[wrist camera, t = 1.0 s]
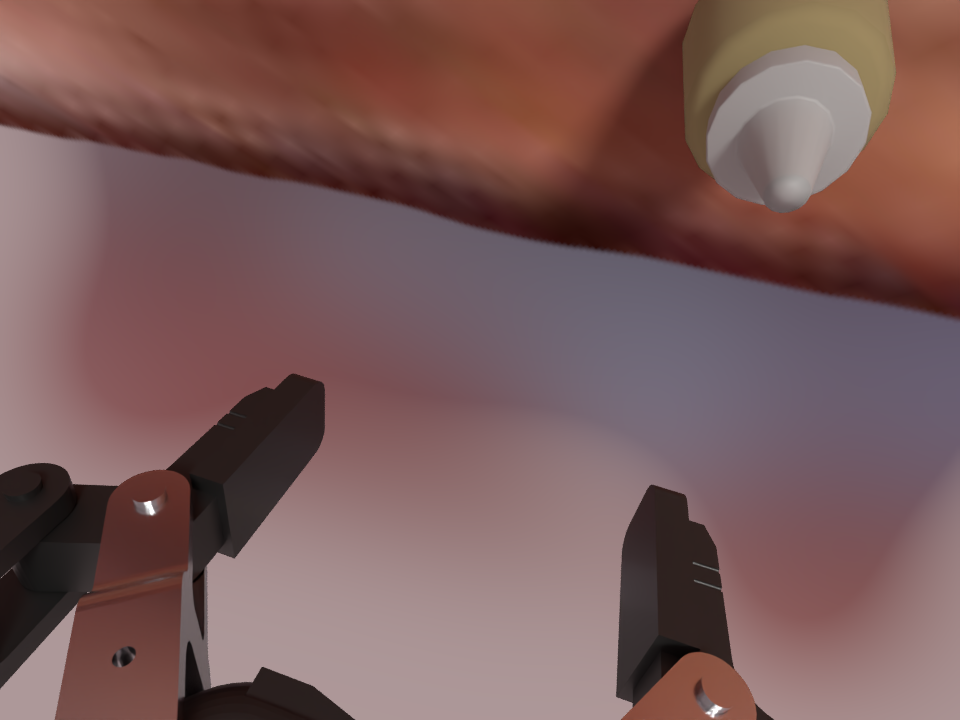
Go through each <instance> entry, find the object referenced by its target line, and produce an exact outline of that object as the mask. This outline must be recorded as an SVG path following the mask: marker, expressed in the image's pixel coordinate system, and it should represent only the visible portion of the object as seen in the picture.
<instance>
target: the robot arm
mask: <svg viewBox="0 0 960 720" xmlns="http://www.w3.org/2000/svg"><path fill="white" fill-rule="evenodd" d="M324 429H325V389H324V384H323V383H322V382H320V381H316V380H313V379H310V378H307V377H303V376H300V375H297V374H291V375H289V376H288V377H287V378H286V379H284V381H282V382H281V384H279V385H278V386H277V387H276V388H275V389H274V390H273V389H270V388H267V387H265V388H263V389H261V390H259V391H256V392H254V393H252V394H250V395H248V396H246V397H244V398H243V399H242V400H241V401H240V402H239V403H238V404H237V405H236V406H234V408H232V409H231V410H230V413H229V414H226V415H225V416H224V417H223V418H222V419H221V420H219V421H218V423H217V425H214V426H213V427H212V428H211V429H210V430H209V431H208V432H207V433H205V434H204V435H203V436H202V437H201V438H200V439H199V440H198V441H197V442H196V443H195V444H194V445H193V446H191V447H190V448H189V449H188V450H187V451H186V452H185V453H184V454H183V455H182V456H181V457H180V458H179V459H177V460H176V461H175V462H174V463H173V464H172V465H171V466H170V467H169V468H167V469H166V470H153V471H148V472H144V473H141V474H138V475H136V476H133V477H131V478H129V479H128V480H126V481H124V482H123V483H122V484H120V485H119V486H103V485H78V484H76V485H75V484H72V481H71V479H70V476H69V474H68V472H67V471H66V470H65V469H64V468H62V467H60V466H58V465H55V464H49V463H37V464H36V463H35V464H29V465H25V466H21V467H17V468H14V469H12V470H9V471H7V472H5V473H3V474H1V475H0V578H1V577H2V576H3V575H4V574H5V573H6V572H7V573H6V574H5V575H4V576H3V577H2V578H1V579H0V688H1V687H2V686H3V685H4V684H5V683H6V682H7V681H8V679H9V678H10V677H11V676H12V675H13V674H14V673H15V672H16V671H17V670H18V668H19V667H20V666H21V665H22V664H23V663H24V662H25V661H26V660H27V658H28V657H29V656H30V655H31V654H32V653H33V652H34V651H35V650H36V648H37V647H38V646H39V645H40V644H41V643H42V642H43V641H44V640H45V639H46V637H47V636H48V635H49V634H50V633H51V632H52V631H53V630H54V629H55V627H56V626H57V625H58V624H59V623H60V622H61V621H62V620H63V619H64V617H65V616H66V615H67V614H68V613H69V612H70V611H71V610H72V609H73V608H74V606H75V605H76V604H77V603H78V604H77V608H76V612H75V617H74V622H73V627H72V633H71V638H70V643H69V649H68V653H67V659H66V664H65V670H64V674H63V680H62V685H61V690H60V695H59V701H58V706H57V711H56V716H55V720H355V719H353V718H352V717H351V716H350V715H348V714H347V713H346V712H345V711H343V710H342V709H341V708H340V707H338V706H337V705H336V704H335V703H333V702H332V701H331V700H330V699H328V698H327V697H326V696H325V695H323V694H322V693H321V692H320V691H318V690H317V689H316V688H315V687H313V686H311V685H309V684H306V683H304V682H301V681H298V680H296V679H293V678H290V677H288V676H285V675H283V674H280V673H277V672H275V671H272V670H270V669H267V668H264V667H262V668H261V669H260V671H259V673H258V675H257V676H256V678H255V680H254V681H253V682H242V683H230V684H226V685H220V686H216V687H213V688H211V679H210V668H209V660H208V616H207V615H208V612H207V611H208V609H207V608H208V605H207V564H208V563H209V562H210V560H211V559H212V558H213V557H214V556H215V555H216V553H217V552H218V553H221V554H224V555H227V556H229V557H232V558H235V557H236V556H237V554H238V553H239V552H240V551H241V549H242V548H243V547H244V546H245V544H246V543H247V542H248V540H249V539H250V538H251V536H252V535H253V534H254V533H255V531H256V530H257V529H258V527H259V526H260V525H261V523H262V522H263V521H264V520H265V518H266V517H267V516H268V514H269V513H270V512H271V510H272V509H273V508H274V506H275V505H276V504H277V502H278V501H279V500H280V499H281V497H282V496H283V495H284V494H285V492H286V491H287V490H288V488H289V487H290V485H291V484H292V483H293V482H294V481H295V479H296V478H297V477H298V475H299V474H300V473H301V471H302V470H303V469H304V468H305V466H306V465H307V464H308V462H309V461H310V460H311V458H312V457H313V456H314V454H315V453H316V452H317V450H318V448H319V446H320V444H321V441H322V439H323V435H324ZM687 506H688V505H687V498H686V496H685V495H684V494H681V493H678V492H675V491H671V490H668V489H665V488H662V487H658V486H655V485H650V486H649V488H648V489H647V491H646V493H645V495H644V497H643V499H642V501H641V503H640V505H639V507H638V509H637V511H636V513H635V515H634V517H633V519H632V521H631V522H630V524H629V527H628V529H627V532H626V535H625V538H624V543H623V548H622V564H621V590H620V615H619V640H618V665H617V691H616V697H618V698H621V699H623V700H627V701H629V702H632V703H633V708H632V709H631V710H630V711H629V712H628V713H627V714H626V715H625V716H624V717H623V718H622V719H621V720H774V719H772V718H771V717H770V716H769V715H767V714H766V713H765V712H764V711H763V710H761V709H760V708H759V707H758V706H757V705H756V704H755V702H754V699H753V696H752V694H751V692H750V690H749V688H748V686H747V685H746V683H745V681H744V680H743V679H742V677H741V676H740V675H739V674H738V673H737V672H736V671H735V669H734V666H733V662H732V656H731V649H730V642H729V634H728V627H727V620H726V614H725V606H724V599H723V593H722V592H721V588H722V585H721V578H720V574H719V563H718V557H717V549H716V546H715V544H714V542H713V541H712V539H711V537H710V535H709V533H708V532H707V530H706V528H705V526H704V525H702V524H698V523H696V522H692V521H689V518H688V517H689V516H688V507H687ZM11 568H12V569H11ZM10 569H11V570H10ZM9 570H10V571H9ZM87 592H89V593H87Z"/></svg>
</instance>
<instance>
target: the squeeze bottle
mask: <svg viewBox="0 0 960 720" xmlns="http://www.w3.org/2000/svg"><path fill="white" fill-rule="evenodd" d="M682 51H683V87H684V117H685V140H686V142H687V144H688V146H689V148H690V150H691V152H692V154H693V156H694V158H695V160H696V162H697V164H698V166H699V168H700V169H702V170H703V171H704V172H706V173H707V174H708V175H710V176H711V177H712V178H713V179H715V180H716V182H717V183H718V184H719V185H720V186H722V187H723V188H724V189H725V190H727V191H728V192H729V193H731V194H732V195H733V196H735V197H736V198H739V199H742V200H746V201H750V202H754V203H757V204H761V205H766V206H767V207H768V208H769V209H770V210H772V211H775V212H779V213H785V212H791V211H794V210H796V209H799V208H800V207H801V206H803V205H804V204H805V203H806V202H807V200H808V199H809V197H810V195H812V194H815V193H817V192H820V191H822V190H824V189H825V188H826V187H827V186H829V185H830V184H831V183H832V182H834V181H835V180H836V179H838V178H839V177H840V176H841V175H843V174H844V173H845V172H846V171H848V170H849V168H850V167H851V165H852V164H853V162H854V160H855V159H856V157H857V156H858V154H859V153H860V152H861V151H862V150H864V148H865V147H866V145H867V144H868V142H869V141H870V139H871V138H872V136H873V135H874V133H875V132H876V130H877V129H878V127H879V126H880V124H881V123H882V121H883V120H884V118H885V117H886V115H887V114H888V109H889V105H890V100H891V95H892V90H893V85H894V80H895V76H896V68H895V60H894V51H893V43H892V34H891V25H890V17H889V8H888V1H887V0H699V1H698V3H697V4H696V5H695V8H694V11H693V14H692V17H691V20H690V23H689V26H688V29H687V31H686V34H685V37H684V40H683V43H682Z"/></svg>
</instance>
